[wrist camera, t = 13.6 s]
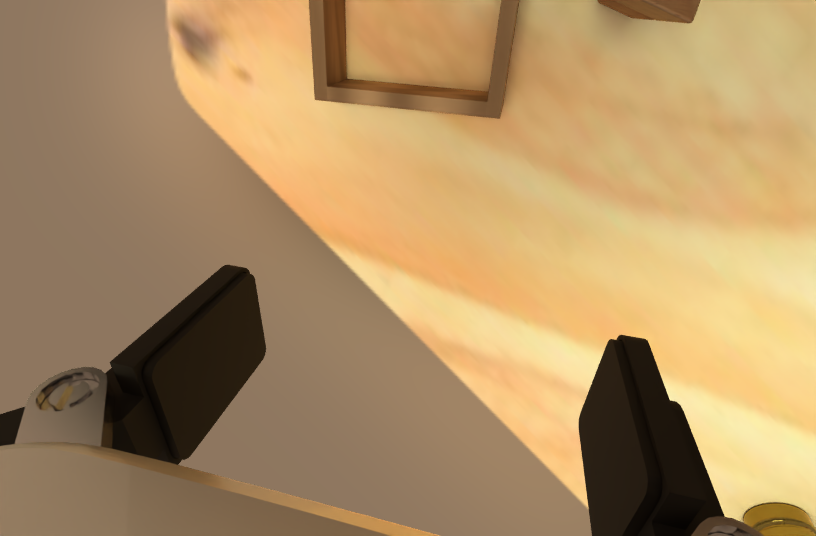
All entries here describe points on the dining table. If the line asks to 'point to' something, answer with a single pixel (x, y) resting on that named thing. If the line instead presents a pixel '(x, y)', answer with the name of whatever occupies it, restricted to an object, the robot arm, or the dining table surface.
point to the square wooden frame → (337, 88)
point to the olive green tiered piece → (779, 520)
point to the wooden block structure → (656, 9)
